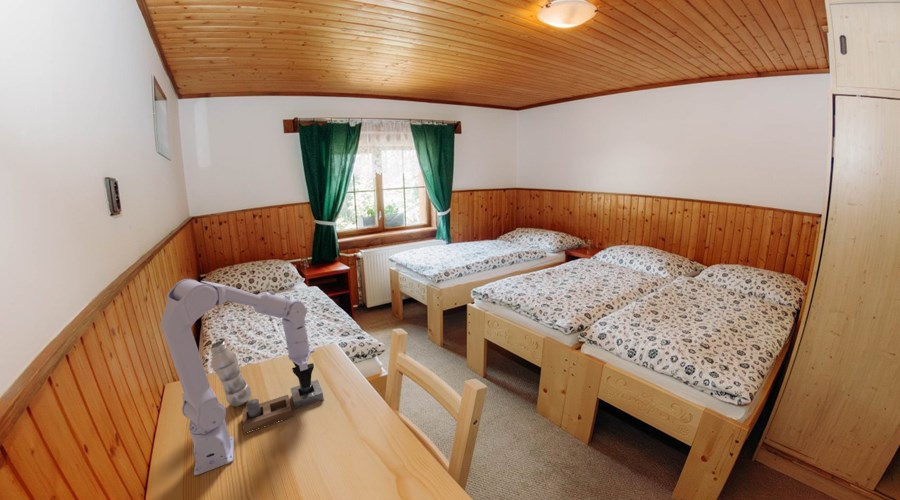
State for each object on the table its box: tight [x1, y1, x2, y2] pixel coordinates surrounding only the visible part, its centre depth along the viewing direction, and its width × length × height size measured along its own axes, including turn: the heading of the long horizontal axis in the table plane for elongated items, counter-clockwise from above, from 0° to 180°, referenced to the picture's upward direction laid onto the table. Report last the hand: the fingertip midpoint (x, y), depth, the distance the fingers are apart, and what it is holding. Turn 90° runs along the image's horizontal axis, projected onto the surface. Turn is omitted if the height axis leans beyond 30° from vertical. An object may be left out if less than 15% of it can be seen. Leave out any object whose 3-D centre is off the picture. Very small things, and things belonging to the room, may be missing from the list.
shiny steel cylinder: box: [298, 380, 312, 396], centre depth 112 cm, size 3×3×9 cm
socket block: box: [290, 379, 324, 411], centre depth 113 cm, size 8×8×2 cm
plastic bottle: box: [209, 340, 252, 407], centre depth 110 cm, size 6×7×20 cm
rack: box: [242, 394, 294, 434], centre depth 105 cm, size 8×12×6 cm, turn 119°
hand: (304, 380), depth 112 cm, fingers open, 7 cm apart
